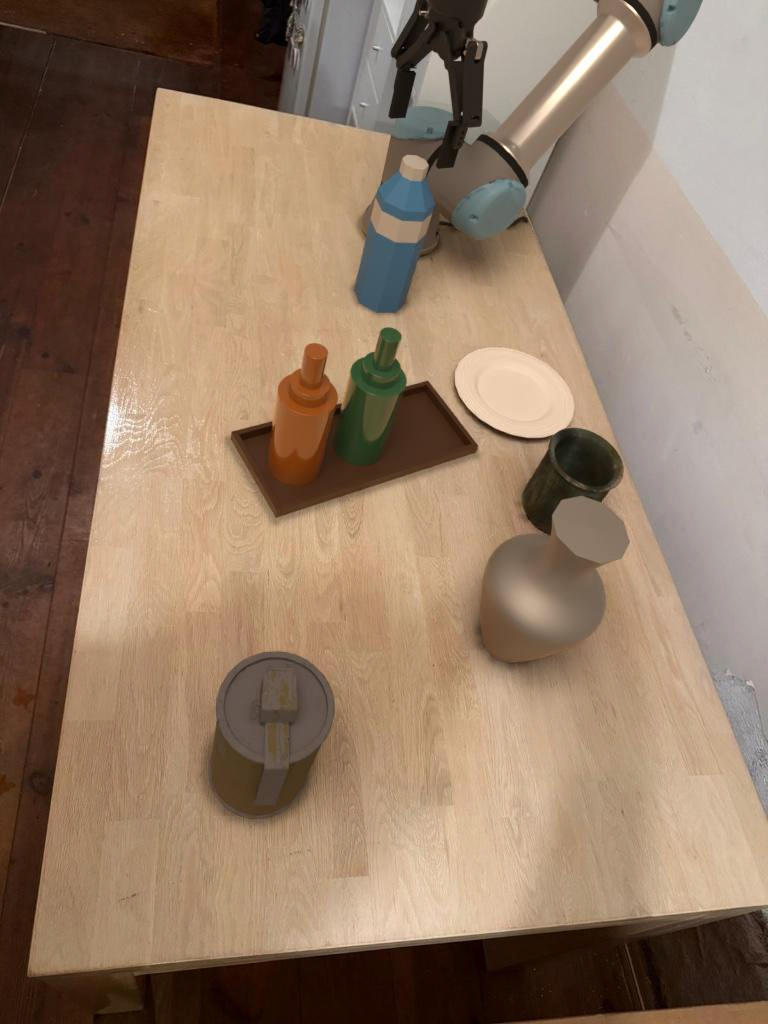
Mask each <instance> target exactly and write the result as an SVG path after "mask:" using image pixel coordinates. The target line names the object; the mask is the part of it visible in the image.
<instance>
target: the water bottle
mask: <svg viewBox="0 0 768 1024" xmlns="http://www.w3.org/2000/svg"><path fill="white" fill-rule="evenodd" d="M428 167H429V165H428V163H427V162H426V160H425V159H423V158H421V157H419V156H417V155H406V156H405V157H403V158H402V162H401V166H400V170H399V171H398V172H397V173H395V174H394V175H393V176H392V177H390V178H389V179H388V180H387V181H386V182H384V183H383V184H382V185H381V186H380V185H379V186H378V187H377V188H376V189H377V190H376V193H375V195H376V197H375V202H374V206H373V210H372V215H371V219H370V223H369V228H368V232H367V236H365V241H364V244H363V249H362V253H361V258H360V261H359V267H358V271H357V276H356V280H355V283H354V288H353V292H354V293H355V296H356V299H357V302H358V304H360V305H362V306H363V307H365V308H367V309H369V310H371V311H373V312H374V313H378V314H380V313H381V314H384V313H391V314H393V313H397V312H399V310H400V309H402V307H403V306H404V305H405V304H406V302H407V298H408V294H409V292H410V289H411V285H412V281H413V278H414V275H415V272H416V268H417V265H418V262H419V258H420V256H419V255H420V252H421V249H422V246H423V242H424V239H425V236H426V232H427V229H428V226H429V222H430V219H431V216H432V212H433V209H434V206H435V201H434V199H433V196H432V194H431V191H430V188H429V186H428V183H427V180H426V178H425V177H426V174H427V170H428Z"/></svg>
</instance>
